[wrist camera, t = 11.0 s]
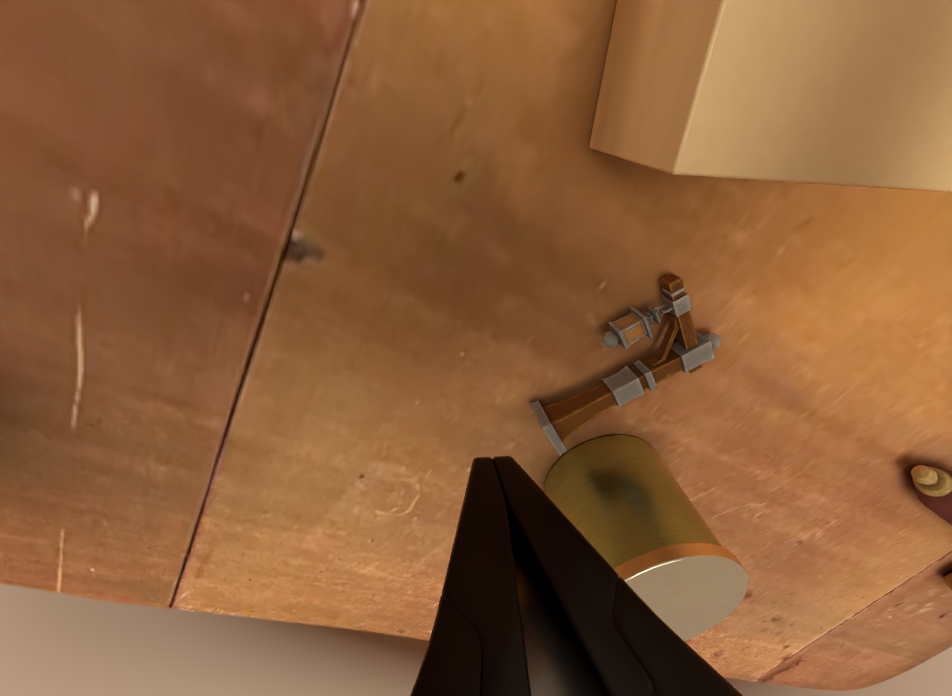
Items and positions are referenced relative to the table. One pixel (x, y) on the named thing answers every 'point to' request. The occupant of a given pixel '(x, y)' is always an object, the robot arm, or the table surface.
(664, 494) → the enamel tin
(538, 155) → the table surface
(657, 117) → the birch block
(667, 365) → the wooden lantern post
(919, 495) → the gavel
